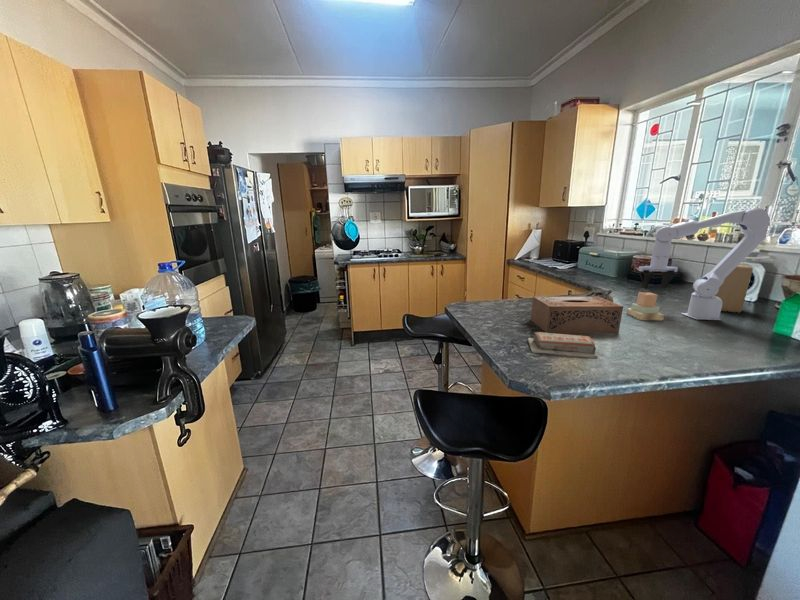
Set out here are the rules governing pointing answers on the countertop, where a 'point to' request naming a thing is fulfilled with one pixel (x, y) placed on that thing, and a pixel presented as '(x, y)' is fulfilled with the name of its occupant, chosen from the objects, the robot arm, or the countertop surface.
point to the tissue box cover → (576, 314)
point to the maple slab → (645, 315)
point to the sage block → (645, 309)
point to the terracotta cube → (646, 299)
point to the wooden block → (735, 288)
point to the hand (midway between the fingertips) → (654, 288)
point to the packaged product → (562, 344)
